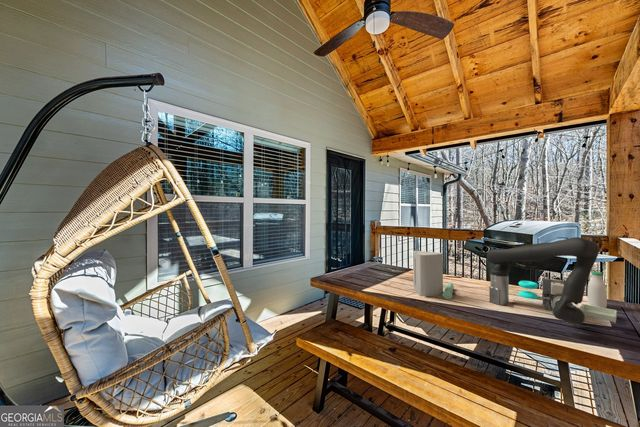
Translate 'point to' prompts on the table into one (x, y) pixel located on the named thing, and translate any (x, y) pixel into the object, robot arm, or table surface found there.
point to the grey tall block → (556, 289)
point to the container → (448, 291)
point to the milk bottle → (597, 290)
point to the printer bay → (548, 289)
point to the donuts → (528, 286)
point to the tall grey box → (428, 273)
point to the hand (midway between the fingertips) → (557, 294)
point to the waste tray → (599, 312)
